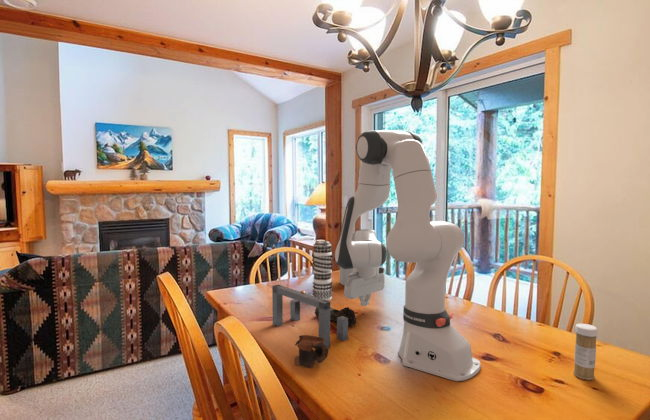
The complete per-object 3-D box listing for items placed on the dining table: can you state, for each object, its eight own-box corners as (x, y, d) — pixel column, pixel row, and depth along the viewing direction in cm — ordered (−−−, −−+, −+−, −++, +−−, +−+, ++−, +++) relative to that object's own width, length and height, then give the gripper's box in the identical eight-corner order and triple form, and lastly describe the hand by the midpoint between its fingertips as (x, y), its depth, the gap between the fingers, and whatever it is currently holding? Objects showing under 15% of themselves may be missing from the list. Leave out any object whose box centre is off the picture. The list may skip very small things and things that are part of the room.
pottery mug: (285, 364, 103) (290, 333, 107) (308, 368, 109) (312, 339, 113) (315, 367, 95) (320, 334, 99) (339, 371, 101) (342, 340, 105)
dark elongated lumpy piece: (314, 317, 139) (314, 302, 138) (327, 313, 144) (327, 299, 143) (349, 330, 126) (349, 314, 126) (362, 325, 131) (362, 309, 131)
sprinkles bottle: (585, 371, 98) (588, 322, 98) (599, 381, 94) (602, 329, 93) (569, 372, 98) (571, 322, 97) (581, 381, 94) (584, 329, 93)
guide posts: (347, 339, 119) (348, 317, 118) (342, 341, 117) (342, 319, 116) (295, 317, 138) (295, 299, 137) (290, 319, 136) (290, 300, 136)
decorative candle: (325, 302, 156) (326, 243, 154) (307, 298, 160) (307, 241, 159) (336, 296, 163) (337, 240, 162) (319, 293, 168) (319, 239, 166)
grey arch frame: (331, 346, 114) (331, 299, 113) (324, 349, 111) (324, 301, 110) (279, 322, 133) (279, 282, 132) (272, 324, 131) (272, 284, 130)
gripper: (352, 276, 134) (352, 313, 135) (387, 267, 148) (386, 301, 149) (340, 273, 139) (340, 309, 139) (375, 265, 153) (374, 298, 153)
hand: (364, 305), depth 144 cm, fingers closed
